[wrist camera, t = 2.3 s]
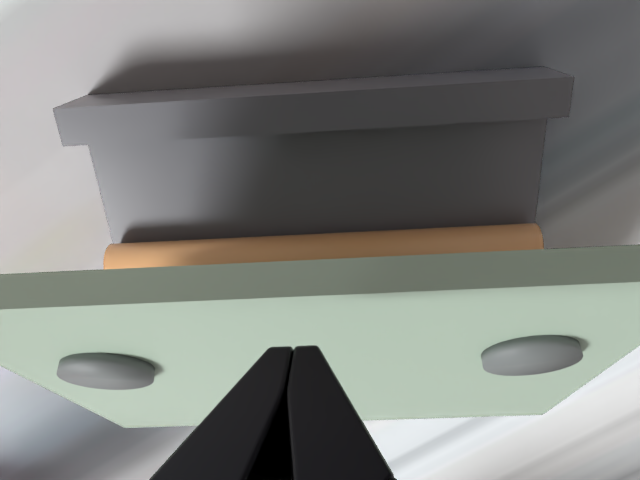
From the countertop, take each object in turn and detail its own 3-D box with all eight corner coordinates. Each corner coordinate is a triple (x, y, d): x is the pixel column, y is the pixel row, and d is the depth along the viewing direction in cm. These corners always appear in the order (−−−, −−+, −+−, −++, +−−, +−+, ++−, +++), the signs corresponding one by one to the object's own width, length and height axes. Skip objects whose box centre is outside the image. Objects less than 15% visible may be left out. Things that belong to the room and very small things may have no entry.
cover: (538, 393, 21) (544, 422, 20) (127, 407, 21) (123, 435, 21) (717, 241, 10) (741, 292, 10) (-89, 278, 11) (-110, 328, 11)
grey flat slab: (512, 353, 23) (532, 392, 21) (152, 366, 24) (133, 405, 22) (543, 66, 18) (574, 76, 16) (86, 95, 19) (52, 108, 16)
